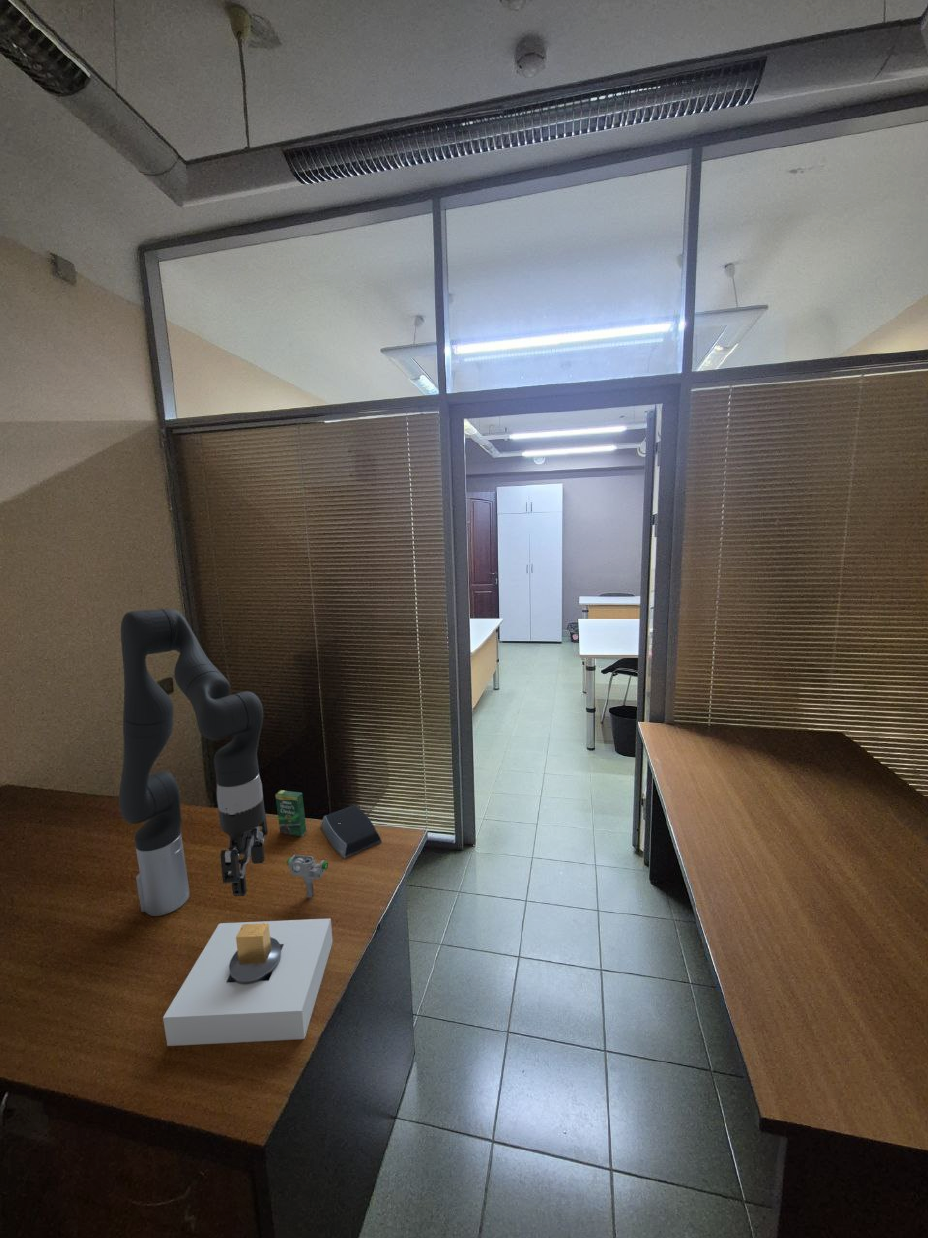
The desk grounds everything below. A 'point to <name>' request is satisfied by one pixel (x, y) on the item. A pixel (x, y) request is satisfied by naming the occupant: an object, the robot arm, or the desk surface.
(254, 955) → the end cap
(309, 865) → the mechanical component
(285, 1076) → the desk surface
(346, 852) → the external hard drive
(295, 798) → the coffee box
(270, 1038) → the housing
